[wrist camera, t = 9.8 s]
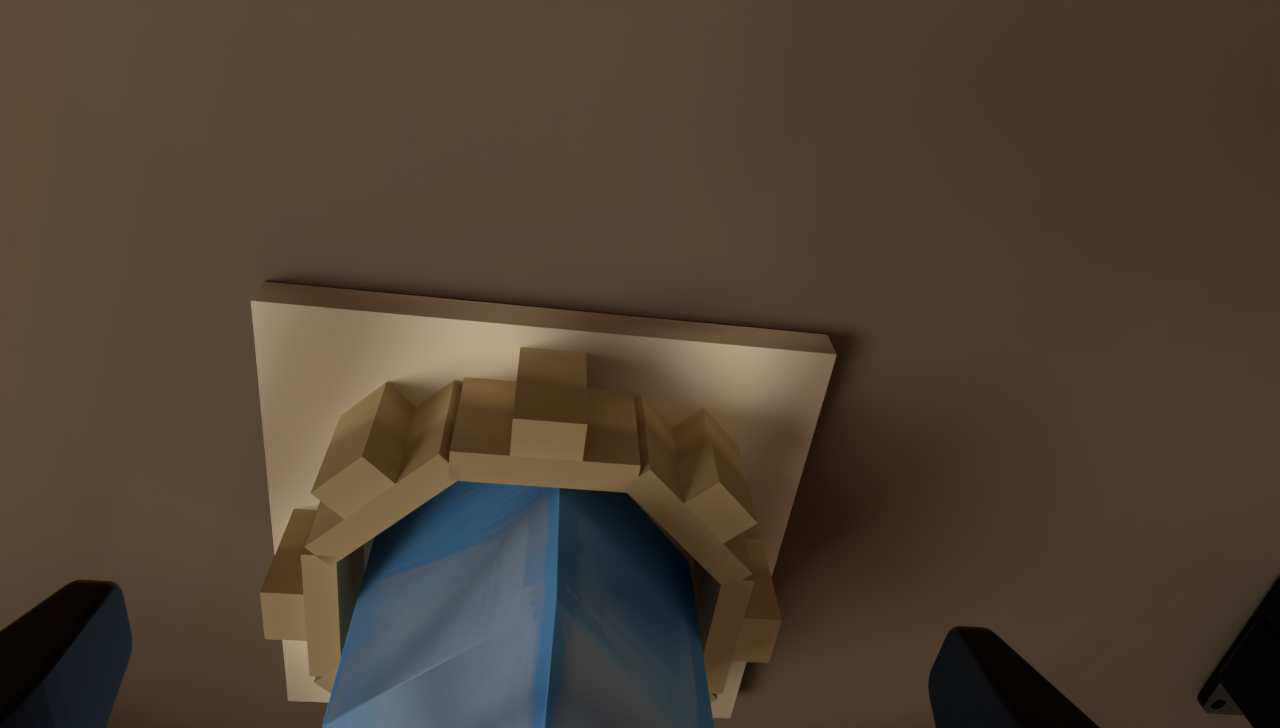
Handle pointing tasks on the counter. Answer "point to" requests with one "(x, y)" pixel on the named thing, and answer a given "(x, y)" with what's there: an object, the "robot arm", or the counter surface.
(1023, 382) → the counter surface
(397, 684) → the perfume bottle
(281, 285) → the gear board
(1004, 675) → the robot arm
